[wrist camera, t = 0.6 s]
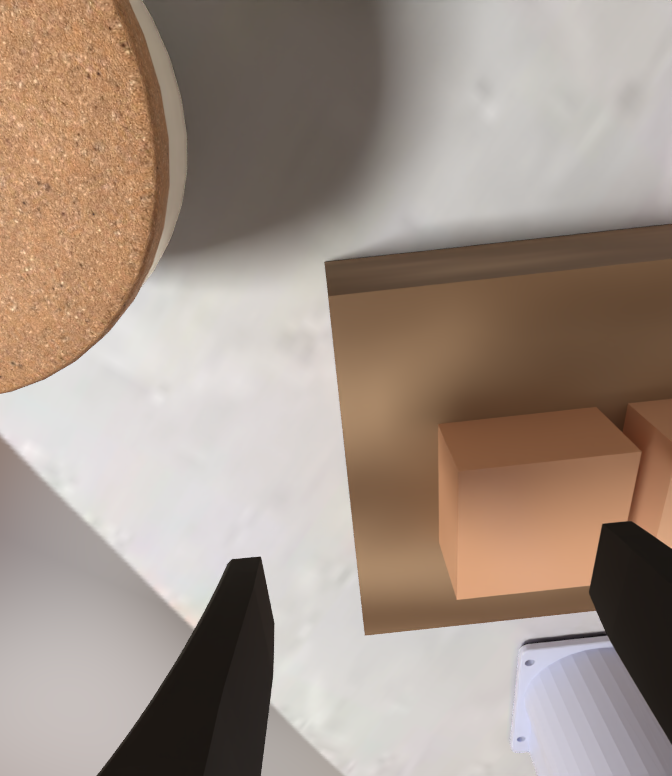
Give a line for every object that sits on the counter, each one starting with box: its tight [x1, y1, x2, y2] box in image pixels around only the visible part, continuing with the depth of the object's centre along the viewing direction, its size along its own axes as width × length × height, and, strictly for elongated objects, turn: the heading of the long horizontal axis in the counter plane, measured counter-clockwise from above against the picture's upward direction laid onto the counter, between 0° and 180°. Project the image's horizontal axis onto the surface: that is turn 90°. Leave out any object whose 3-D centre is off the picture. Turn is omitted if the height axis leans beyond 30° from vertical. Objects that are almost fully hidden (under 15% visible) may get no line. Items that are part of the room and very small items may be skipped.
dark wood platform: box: [325, 224, 672, 635], centre depth 19 cm, size 14×15×4 cm
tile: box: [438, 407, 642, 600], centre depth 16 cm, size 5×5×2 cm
